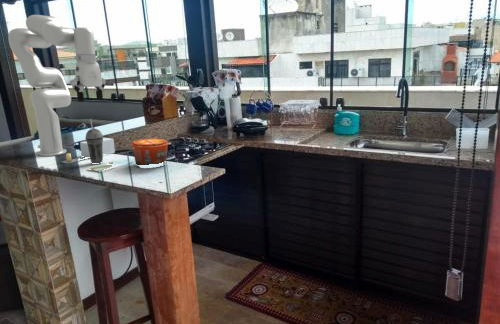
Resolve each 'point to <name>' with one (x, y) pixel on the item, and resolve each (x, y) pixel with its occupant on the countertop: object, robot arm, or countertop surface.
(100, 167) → the board
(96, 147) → the beverage cup
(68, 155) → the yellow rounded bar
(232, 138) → the countertop surface
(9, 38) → the robot arm
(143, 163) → the food container
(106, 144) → the cover
